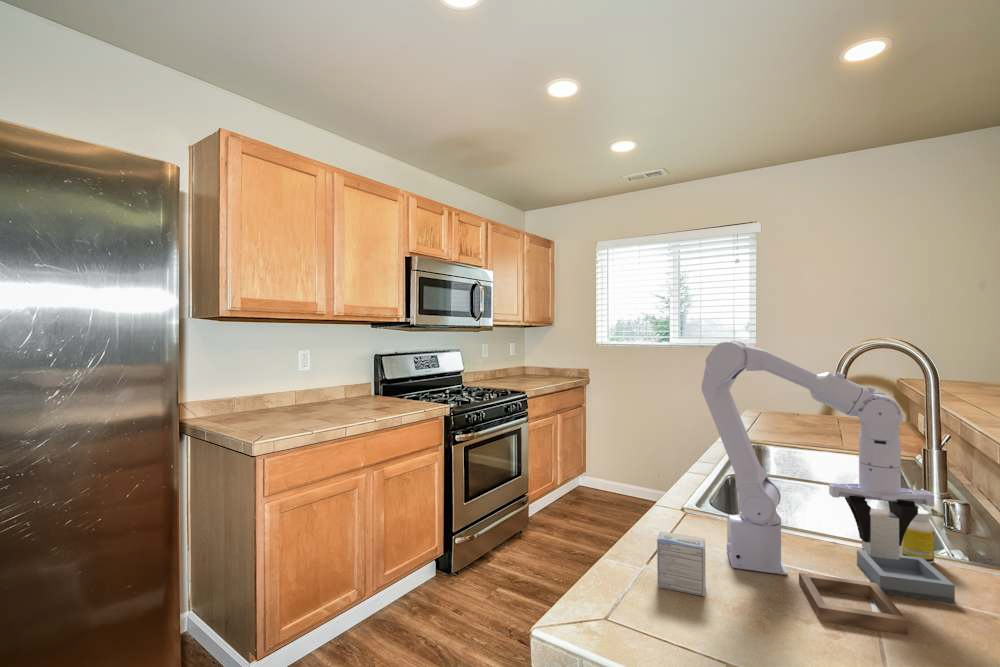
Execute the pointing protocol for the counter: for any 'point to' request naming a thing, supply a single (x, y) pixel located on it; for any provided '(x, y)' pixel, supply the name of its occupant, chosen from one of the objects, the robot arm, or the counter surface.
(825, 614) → the brown flat square frame
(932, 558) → the supplement bottle
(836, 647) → the counter surface
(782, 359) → the robot arm
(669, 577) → the medicine box
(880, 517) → the brushed metal top block
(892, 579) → the tray
